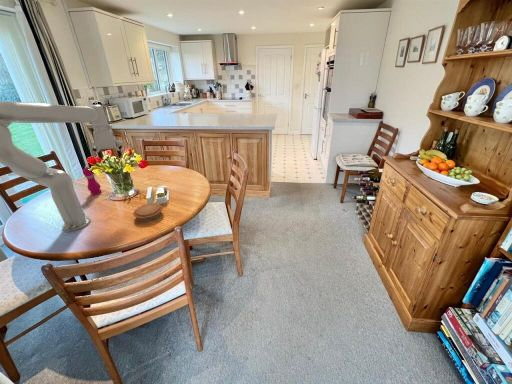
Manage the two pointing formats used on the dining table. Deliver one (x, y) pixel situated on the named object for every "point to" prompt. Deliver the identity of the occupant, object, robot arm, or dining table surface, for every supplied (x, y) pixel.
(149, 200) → the jamb
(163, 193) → the stop bar
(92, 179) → the pepper mill
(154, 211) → the pie
